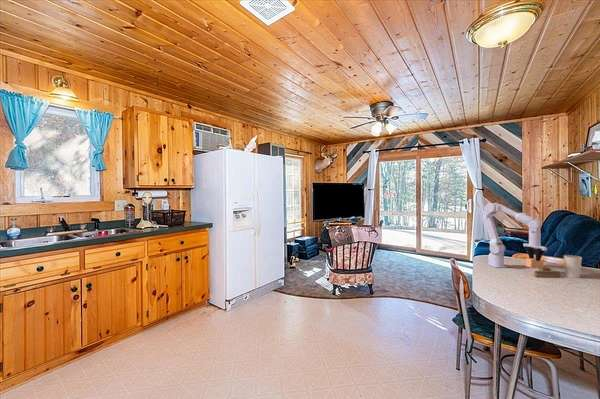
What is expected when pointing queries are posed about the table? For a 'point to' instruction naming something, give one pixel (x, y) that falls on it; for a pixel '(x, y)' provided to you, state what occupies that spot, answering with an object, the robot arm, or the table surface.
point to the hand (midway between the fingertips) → (534, 259)
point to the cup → (572, 266)
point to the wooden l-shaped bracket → (547, 272)
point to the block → (534, 263)
